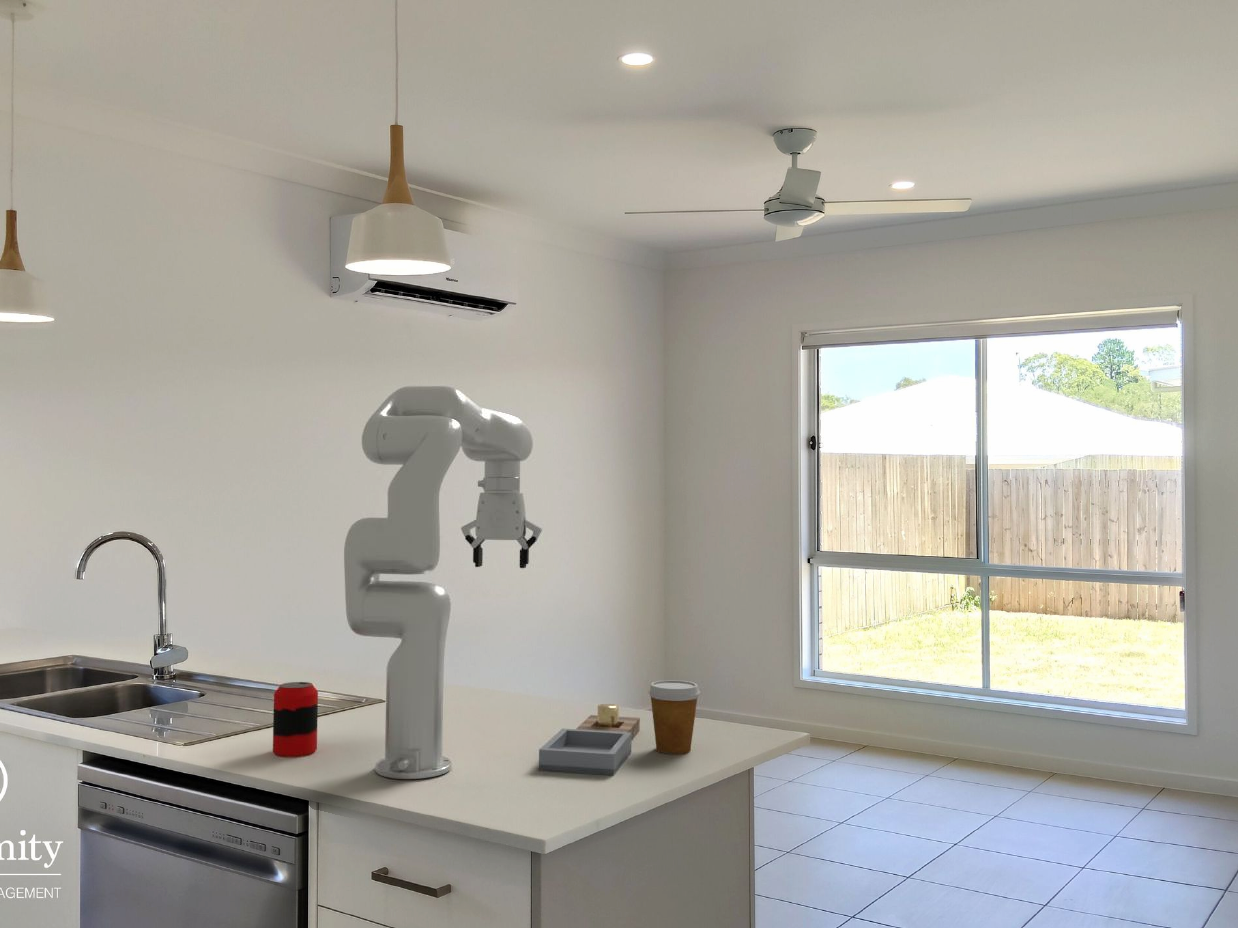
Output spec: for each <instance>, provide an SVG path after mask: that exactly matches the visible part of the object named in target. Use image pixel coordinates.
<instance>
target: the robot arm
mask: <svg viewBox="0 0 1238 928" xmlns="http://www.w3.org/2000/svg"><path fill="white" fill-rule="evenodd" d="M533 445H534V444H533V436H532V433H531V431H530V429H529V427H528V426H527V425H526V424H525V423H524V422H523V421H522V420H521V419H519V418H518V417H516V416H513V415H511V414H507V413H503V412H502V411H501V412H500V411H496V410H494V409H491V408H487V407H483V406H479V405H478V404H476V403H475V402H474V401H472V399H470V398H469V397H467V395H465V394H464V393H463V392H461V390H459V389H457V388H454V387H451V386H445V385H433V386H432V385H430V386H429V385H427V386H426V385H425V386H421V385H420V386H418V385H417V386H416V385H415V386H414V385H413V386H412V385H410V386H409V385H408V386H403V387H400V388H399V389H396V390H395V391H393V392H392V393H391V394H390V395H389V396H388V397H387V398H386V399H385V400H384V401H383V402H382V403H381V404H380V405H379V407H378V408H377V409H376V410H375V411H374V413H372V415H371V416H370V418H368V419H367V421H366V423H365V425H364V428H363V431H362V434H361V446H362V451H363V453H364V455H365V456H366V459H368V460H369V461H370V462H372V463H374V464H378V465H385V466H386V465H390V466H391V465H392V466H393V465H399V466H400V465H401V467H400V468H399V469H398V471H397V472H396V473H395V475H394V476H393V478H392V479H391V481H390V483H389V486H388V488H387V516H386V517H364V518H361V519H358V520H357V521H355V522H354V523H352V525H351V526H350V528H349V529H348V531H347V533H346V537H345V541H344V548H343V568H344V571H343V572H344V591H345V594H344V596H345V598H344V599H345V614H346V615H345V616H346V620H347V624H348V626H349V628H350V630H351V631H352V632H353V633H354V634H356V635H358V636H362V637H363V636H364V637H373V638H374V637H375V638H390V639H391V638H394V639H400V640H401V642H400V644H399V645H398V646H397V648H396V649H395V651H394V652H392V654H391V656H390V657H389V659H388V661H387V664H386V665H387V666H386V674H385V676H386V679H385V680H386V681H385V682H386V683H385V685H386V686H385V687H386V688H385V733H384V736H385V739H384V743H385V744H384V745H385V746H384V758H382V759H380V760H378V761H376V763H375V766H374V768H375V769H374V770H375V772H376V773H377V775H379V776H381V777H384V778H390V779H397V780H418V779H419V780H420V779H421V780H422V779H428V778H435V777H437V776H438V777H439V776H441V775H444V774H447V773H448V772H449V771H450V770H451V769H452V760H451V759H449V758H448V757H446V756H443V734H444V733H443V729H444V728H443V727H444V725H443V724H444V722H443V721H444V674H445V672H444V671H445V668H444V667H445V664H444V663H445V649H446V640H447V633H448V627H449V623H450V618H451V616H450V615H451V611H452V609H451V608H452V605H451V604H452V603H451V598H450V595H449V592H447V591H446V589H444V588H443V587H442V586H440V585H438V584H435V583H432V582H427V581H409V580H408V581H406V580H398V581H397V580H380V576H381V575H401V576H403V575H407V576H408V575H411V576H413V575H425V574H429V573H431V572H432V571H435V569H436V568H437V566H438V564H439V559H440V552H441V551H440V550H441V541H440V540H441V539H440V538H441V533H440V492H441V486H442V483H443V481H444V479H445V476H446V474H447V472H448V471H449V468H450V466H451V465H452V463H453V461H454V460H455V458H456V456H457V455H458V453H459V451H460V448H461V449H462V452H463V454H464V455H465V457H467V458H468V459H469V460H471V461H473V462H474V461H475V462H484V477H482V479H481V480H477V486H478V487H480V488H482V490H483V492H479V497H478V502H477V508H476V516H475V517H476V518H475V519H474V520H473V521H471V522H469V523H466V524H465V525H462V526H461V527H460V530H461V532H462V534H463V536H464V538H465V540H466V542H467V543H468V544H469V545H470V547H471V548H473V549H472V563H474V567H475V568H480V567H483V553H484V552H483V548H482V545H483V543H484V542H485V541H488V540H489V541H491V540H492V541H517V543H518V544H519V545H520V546H521V549H520V550H519V569H526V568H527V565H529V563H530V549H531V547H532V546H533V545H534V544H535V543H536V542H537V541H538V539H539V537H540V535H541V533H542V531H543V528H541V527H539V526H538V525H536V524H535V523H533V522H531V521H529V520H527V517H526V505H525V499H524V494H523V492H522V493H521V492H520V491H521V462H523V461H525V460H527V459H528V458H529V457H530V456H531V454H532V451H533V447H534V446H533ZM474 528H475V530H474V531H475V536H476V538H475V537H474V536H473V535H472V533H471V530H472V529H474ZM527 529H528V530H530V531H532V535H531V537H529V538H528V539H527V538H526V535H527V534H526V533H527Z"/></svg>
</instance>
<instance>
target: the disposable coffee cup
mask: <svg viewBox="0 0 1238 928" xmlns="http://www.w3.org/2000/svg"><path fill="white" fill-rule="evenodd" d="M647 692H648V694H649V697H650V700H651V701H650V702H651V711H652V712H651V713H652V721H653V729H654V730H653V731H654V738H655V739H654V740H655V748H656V751H658V752H659V753H663V754H668V755H683V754H686V753H690V752H691V748H692V740H693V733H694V727H695V726H694V725H695V719H696V718H695V717H696V710H697V703H698V698H699V695H700V694H701V692H700V690H699V685H698V684H697V683H696V682H693V681H687V680H675V679H673V680H671V679H668V680H667V679H666V680H656V681H653V682H651V684H650V688H649V689H648V691H647Z"/></svg>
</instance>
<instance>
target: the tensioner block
mask: <svg viewBox="0 0 1238 928" xmlns="http://www.w3.org/2000/svg"><path fill="white" fill-rule="evenodd" d="M640 719H641V717H633V716H632V717H631V716H618V728H609V727H597V726H598V714H596V715H595V714H590V715H588V717H587V718H586V719H585V720H584V721H583V722H582V723H581V724H579V725H578V726H577V727H576V728H575V729H579V730H596V731H613V732H629V733H632V741H633V740H634V739H635V737H636V736H637V734H638V733H639V732H640V729H641V727H640V726H641V725H640V724H641V723H640V722H641V721H640Z"/></svg>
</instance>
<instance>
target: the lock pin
mask: <svg viewBox="0 0 1238 928" xmlns="http://www.w3.org/2000/svg"><path fill="white" fill-rule="evenodd" d="M597 715H598V726H597V727H609V728H618V717H619V705H618V704H614V703H602V704H598V705H597Z"/></svg>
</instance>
